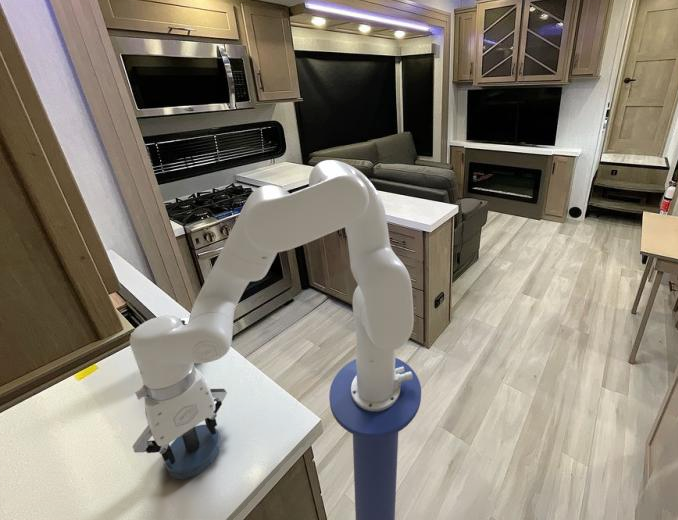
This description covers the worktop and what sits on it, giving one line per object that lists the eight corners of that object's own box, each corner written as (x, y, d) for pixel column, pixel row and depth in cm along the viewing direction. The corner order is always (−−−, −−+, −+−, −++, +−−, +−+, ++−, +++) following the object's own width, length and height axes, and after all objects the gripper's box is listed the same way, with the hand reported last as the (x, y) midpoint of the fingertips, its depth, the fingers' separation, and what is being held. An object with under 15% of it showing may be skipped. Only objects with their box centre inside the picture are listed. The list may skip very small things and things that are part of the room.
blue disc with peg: (223, 425, 72) (217, 402, 69) (217, 468, 64) (210, 444, 61) (174, 439, 69) (166, 416, 66) (161, 486, 61) (152, 461, 58)
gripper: (116, 426, 50) (146, 495, 57) (229, 362, 63) (242, 424, 69) (105, 399, 54) (134, 465, 61) (213, 343, 67) (227, 403, 74)
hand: (191, 443), depth 65 cm, fingers open, 6 cm apart
